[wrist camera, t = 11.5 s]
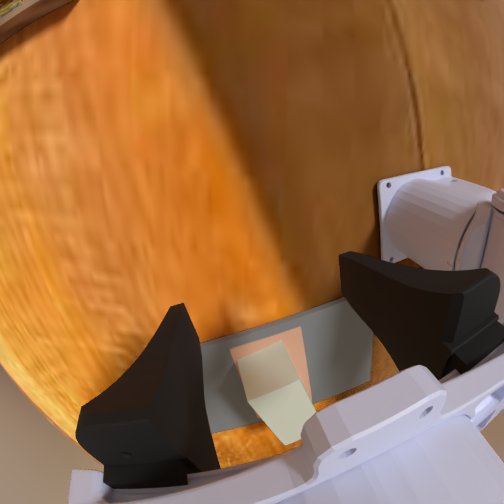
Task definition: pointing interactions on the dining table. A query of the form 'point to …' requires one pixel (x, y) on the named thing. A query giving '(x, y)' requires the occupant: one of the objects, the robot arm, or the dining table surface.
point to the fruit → (8, 6)
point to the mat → (301, 354)
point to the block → (276, 391)
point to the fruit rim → (26, 15)
